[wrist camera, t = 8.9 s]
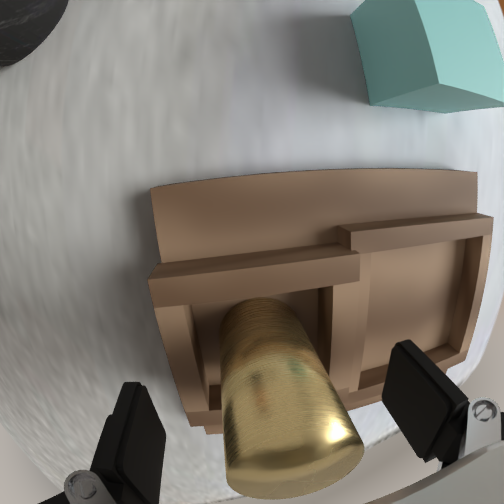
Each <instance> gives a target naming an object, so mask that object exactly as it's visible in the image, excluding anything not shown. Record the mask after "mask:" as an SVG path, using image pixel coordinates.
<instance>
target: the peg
mask: <svg viewBox="0 0 504 504" xmlns="http://www.w3.org/2000/svg"><path fill="white" fill-rule="evenodd" d="M219 350H220V378H221V401H222V420H223V437H224V453H225V467H226V479H227V483H228V485H229V486H230V487H231V488H232V489H233V490H234V491H236V492H237V493H239V494H242V495H244V496H248V497H252V498H257V499H286V498H293V497H298V496H302V495H306V494H310V493H313V492H316V491H318V490H321V489H323V488H326V487H327V486H330V485H332V484H334V483H335V482H337V481H339V480H340V479H342V478H343V477H345V476H346V475H347V474H348V473H350V472H351V471H352V470H353V469H354V468H355V467H356V466H357V464H358V463H359V462H360V460H361V459H362V457H363V454H364V444H363V442H362V440H361V438H360V436H359V434H358V432H357V430H356V428H355V426H354V424H353V422H352V420H351V418H350V416H349V415H348V413H347V411H346V409H345V407H344V405H343V403H342V401H341V399H340V397H339V395H338V393H337V391H336V389H335V388H334V386H333V384H332V382H331V380H330V378H329V376H328V374H327V372H326V370H325V368H324V366H323V365H322V363H321V361H320V359H319V357H318V355H317V353H316V351H315V349H314V347H313V345H312V344H311V342H310V340H309V338H308V336H307V334H306V332H305V330H304V328H303V327H302V325H301V323H300V321H299V319H298V317H297V315H296V314H295V312H294V311H293V309H292V308H291V307H290V306H288V305H287V304H286V303H284V302H282V301H280V300H277V299H274V298H269V297H257V298H252V299H248V300H245V301H243V302H241V303H239V304H237V305H236V306H234V307H233V308H232V309H231V310H230V311H229V312H228V313H227V314H226V315H225V317H224V318H223V320H222V323H221V325H220V329H219Z"/></svg>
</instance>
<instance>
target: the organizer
mask: <svg viewBox="0 0 504 504" xmlns="http://www.w3.org/2000/svg"><path fill="white" fill-rule="evenodd" d="M150 192H151V200H152V207H153V214H154V221H155V227H156V233H157V239H158V245H159V251H160V257H161V262H162V263H158V264H157V265H156V267H155V268H154V270H153V271H152V273H151V275H150V276H149V278H148V280H147V281H148V285H149V290H150V294H151V298H152V302H153V307H154V311H155V315H156V319H157V322H158V326H159V330H160V334H161V337H162V341H163V344H164V348H165V351H166V355H167V358H168V361H169V365H170V368H171V371H172V374H173V378H174V381H175V384H176V387H177V390H178V393H179V396H180V399H181V401H182V404H183V407H184V410H185V413H186V415H187V418H188V421H189V424H190V426H191V427H193V426H204V428H205V431H206V434H221V433H223V420H222V401H221V378H220V350H219V329H220V325H221V323H222V320H223V318H224V317H225V315H226V314H227V313H228V312H229V311H230V310H231V309H232V308H233V307H234V306H236V305H237V304H239V303H241V302H243V301H245V300H248V299H252V298H257V297H269V298H274V299H277V300H280V301H282V302H284V303H286V304H287V305H288V306H290V307H291V308H292V309H293V311H294V312H295V314H296V315H297V317H298V319H299V321H300V323H301V325H302V327H303V328H304V330H305V332H306V334H307V336H308V338H309V340H310V342H311V344H312V345H313V347H314V349H315V351H316V353H317V355H318V357H319V359H320V361H321V363H322V365H323V366H324V368H325V370H326V372H327V374H328V376H329V378H330V380H331V382H332V384H333V386H334V388H335V389H336V391H337V393H338V395H339V397H340V399H341V401H342V403H343V405H344V407H345V409H346V411H349V410H353V409H356V408H359V407H363V406H366V405H369V404H372V403H376V402H379V401H382V397H381V396H382V391H383V387H384V383H385V378H386V374H387V369H388V364H389V360H390V354H391V350H392V348H393V347H394V346H395V344H396V343H397V342H400V341H404V340H407V339H410V340H411V341H413V342H414V343H415V344H416V345H417V346H418V347H419V348H420V349H421V350H422V351H423V352H424V353H425V354H426V355H427V356H428V357H429V358H430V359H431V360H432V361H433V362H434V363H435V364H436V365H437V366H438V367H439V368H440V369H441V370H442V371H443V372H444V374H446V371H447V369H448V368H450V367H452V366H454V365H456V364H459V363H461V362H463V361H465V359H466V356H467V353H468V350H469V346H470V343H471V340H472V337H473V333H474V330H475V326H476V322H477V318H478V314H479V310H480V306H481V302H482V297H483V292H484V287H485V282H486V277H487V271H488V264H489V257H490V250H491V241H492V231H493V218H494V217H490V216H487V215H483V214H479V213H477V172H470V171H460V170H443V169H414V168H355V169H325V170H305V171H289V172H275V173H263V174H252V175H241V176H232V177H223V178H214V179H206V180H198V181H190V182H183V183H176V184H169V185H163V186H158V187H154V188H150Z"/></svg>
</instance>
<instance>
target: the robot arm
mask: <svg viewBox="0 0 504 504" xmlns="http://www.w3.org/2000/svg"><path fill="white" fill-rule="evenodd" d="M381 397H382V402H383V404H384V405H385V407H386V408H387V410H388V411H389V413H390V414H391V416H392V417H393V419H394V420H395V422H396V424H397V425H398V427H399V428H400V430H401V431H402V433H403V434H404V436H405V437H406V439H407V440H408V442H409V444H410V445H411V447H412V448H413V450H414V451H415V453H416V455H417V456H418V457H419V458H423V460H424V461H425V463H426V462H428V461H430V460H432V459H434V458H436V457H437V458H438V460H439V464H438V469H437V472H436V473H434V474H432V475H430V476H428V477H426V478H424V479H422V480H420V481H418V482H416V483H414V484H412V485H410V486H407V487H405V488H403V489H401V490H398V491H396V492H394V493H391V494H389V495H386V496H384V497H381V498H379V499H376V500H373V501H371V502H368V503H365V504H504V412H500V408H499V406H498V404H497V403H496V402H495V401H494V400H492V399H490V398H485V397H482V398H481V397H480V398H477V399H475V400H473V401H472V402H471V403H469V401H468V398H467V397H466V395H465V394H464V393H463V392H462V391H461V390H460V389H459V388H458V387H457V386H456V385H455V384H454V383H453V382H452V381H451V380H450V379H449V378H448V377H447V376H446V375H445V374H444V372H443V371H442V370H441V369H440V368H439V367H438V366H437V365H436V364H435V363H434V362H433V361H432V360H431V359H430V358H429V357H428V356H427V355H426V354H425V353H424V352H423V351H422V350H421V349H420V348H419V347H418V346H417V345H416V344H415V343H414V342H413V341H411V340H410V339H407V340H404V341H400V342H397V343H396V344H395V346H394V347H393V348H392V350H391V354H390V360H389V364H388V369H387V374H386V378H385V383H384V387H383V391H382V396H381ZM165 443H166V432H165V429H164V427H163V425H162V423H161V421H160V419H159V416H158V414H157V412H156V410H155V407H154V405H153V403H152V400H151V398H150V395H149V393H148V391H147V388H146V386H142V385H141V383H140V382H124V384H123V386H122V389H121V391H120V394H119V397H118V400H117V402H116V405H115V408H114V411H113V414H112V415H109V416H108V417H107V419H106V422H105V425H104V428H103V431H102V433H101V436H100V439H99V442H98V445H97V449H96V452H95V455H94V458H93V461H92V464H91V468H90V471H88V470H78V471H74V472H73V473H71V474H70V475H69V476H68V477H67V478H66V480H65V482H64V492H62V493H60V494H58V495H56V496H54V497H52V498H50V499H48V500H45V501H43V502H41V503H39V504H159V496H160V486H161V476H162V467H163V459H164V451H165Z"/></svg>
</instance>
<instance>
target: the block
mask: <svg viewBox="0 0 504 504" xmlns="http://www.w3.org/2000/svg"><path fill="white" fill-rule="evenodd" d="M350 17H351V20H352V24H353V28H354V31H355V35H356V39H357V43H358V47H359V52H360V56H361V60H362V65H363V70H364V75H365V80H366V85H367V91H368V96H369V102H370V106H384V107H397V108H407V109H416V110H424V111H432V112H439V113H452V112H459V111H467V110H475V109H485V108H495V107H504V62H503V58H502V55H501V52H500V48H499V45H498V42H497V39H496V36H495V34H494V31H493V28H492V25H491V23H490V20H489V18H488V15H487V13H486V10H485V8H484V6H482V5H481V4H479V3H477V2H475V1H474V0H365V1H364V2H363V3H362V4H361V5H360V6H359V7H358V8H357V9H356V10H355V11H354V12H353V13H352V14H351V15H350Z"/></svg>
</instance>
